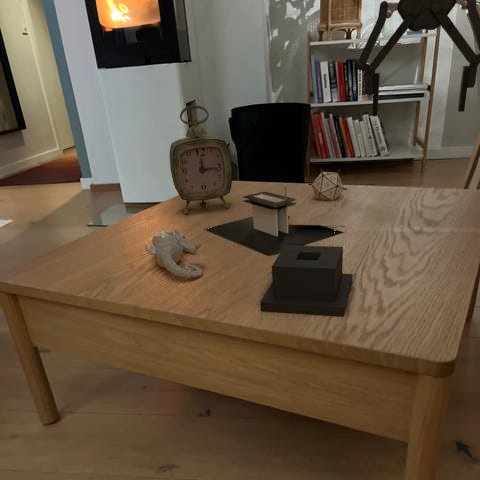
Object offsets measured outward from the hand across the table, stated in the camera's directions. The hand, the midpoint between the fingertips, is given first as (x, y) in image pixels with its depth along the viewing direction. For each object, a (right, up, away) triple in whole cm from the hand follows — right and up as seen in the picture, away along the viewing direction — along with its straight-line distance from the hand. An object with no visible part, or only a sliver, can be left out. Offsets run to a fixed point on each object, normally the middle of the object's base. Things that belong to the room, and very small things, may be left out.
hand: (416, 113), depth 80 cm
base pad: (-19, -31, -7) cm, 37 cm away
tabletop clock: (-39, -6, +45) cm, 60 cm away
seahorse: (-42, -24, +10) cm, 49 cm away
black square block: (-19, -30, -8) cm, 36 cm away
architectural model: (-23, -15, +24) cm, 37 cm away
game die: (-7, -5, +41) cm, 42 cm away
